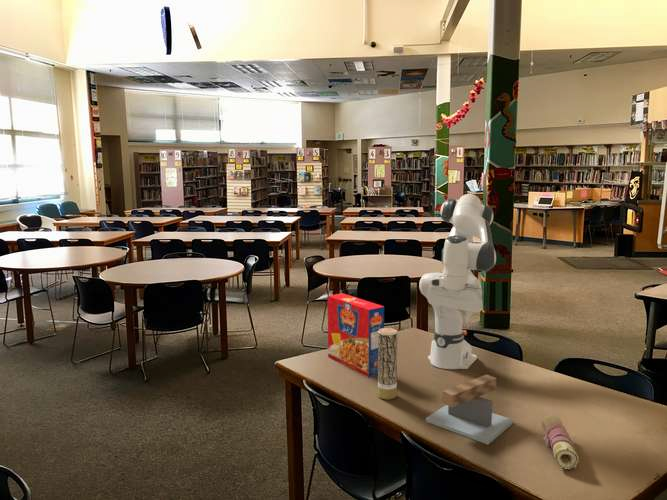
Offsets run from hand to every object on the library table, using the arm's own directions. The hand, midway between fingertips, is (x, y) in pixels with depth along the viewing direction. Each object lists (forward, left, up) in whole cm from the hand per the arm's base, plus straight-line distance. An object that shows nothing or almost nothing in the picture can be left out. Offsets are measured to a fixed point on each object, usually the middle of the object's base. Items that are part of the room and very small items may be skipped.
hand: (453, 320), depth 186 cm
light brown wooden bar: (+13, +14, -20) cm, 28 cm away
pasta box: (-1, -47, -29) cm, 55 cm away
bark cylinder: (+15, -18, -29) cm, 38 cm away
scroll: (+12, +42, -30) cm, 53 cm away
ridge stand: (+13, +14, -29) cm, 35 cm away
